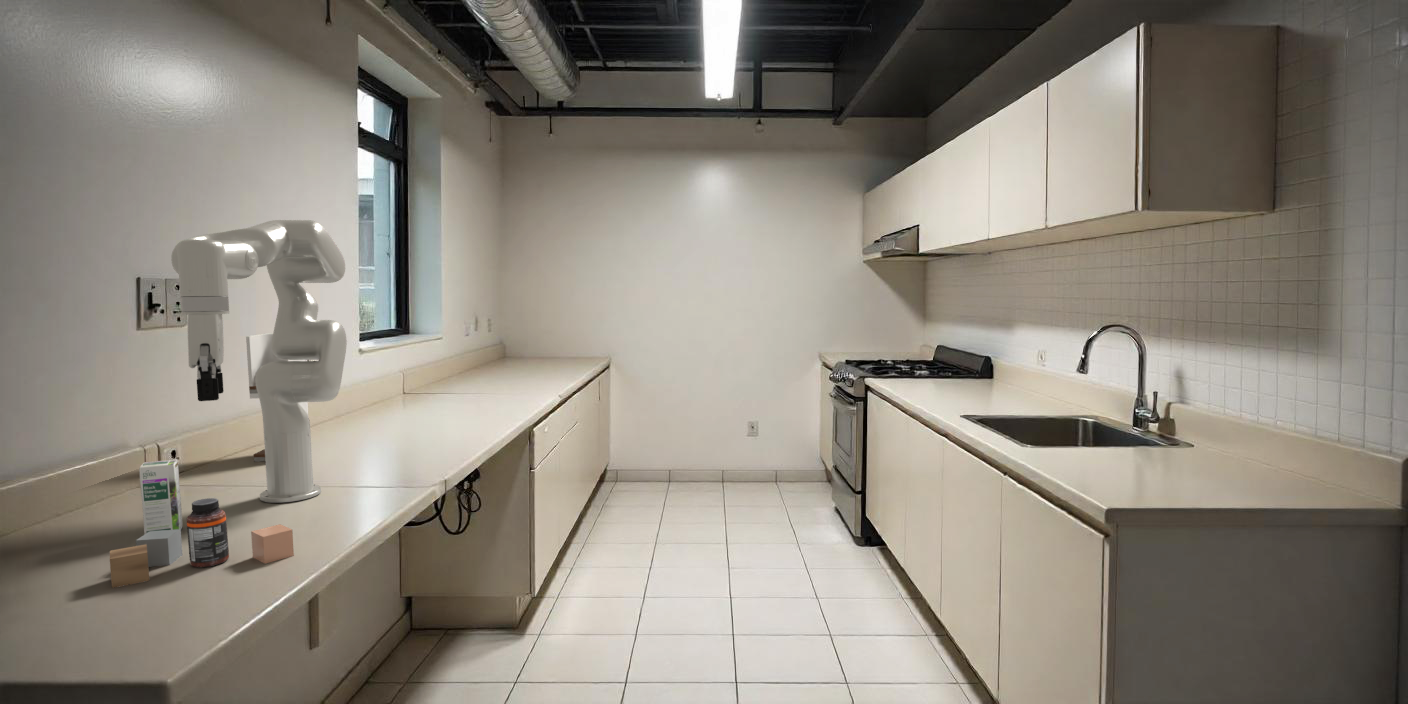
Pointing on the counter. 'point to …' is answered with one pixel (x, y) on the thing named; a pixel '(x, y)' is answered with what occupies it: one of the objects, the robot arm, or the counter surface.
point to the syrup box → (160, 495)
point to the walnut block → (129, 565)
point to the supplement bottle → (207, 534)
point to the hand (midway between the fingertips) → (211, 396)
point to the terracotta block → (272, 543)
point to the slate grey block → (162, 546)
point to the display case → (258, 357)
